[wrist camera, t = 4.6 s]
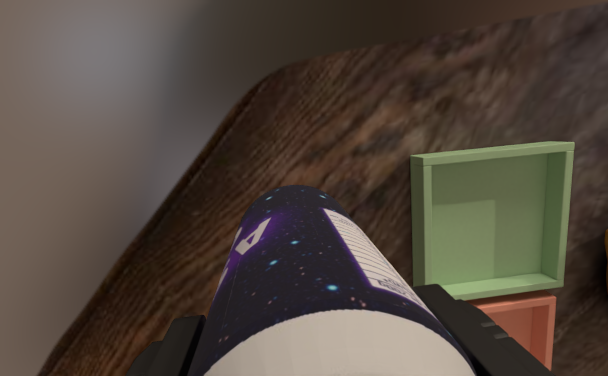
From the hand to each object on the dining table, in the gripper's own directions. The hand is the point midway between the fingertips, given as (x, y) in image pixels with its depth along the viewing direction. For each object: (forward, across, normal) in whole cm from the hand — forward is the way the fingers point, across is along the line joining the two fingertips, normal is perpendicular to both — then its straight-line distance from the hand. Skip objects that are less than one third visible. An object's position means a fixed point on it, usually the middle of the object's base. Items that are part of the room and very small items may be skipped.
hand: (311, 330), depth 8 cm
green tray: (+14, -15, +3) cm, 21 cm away
